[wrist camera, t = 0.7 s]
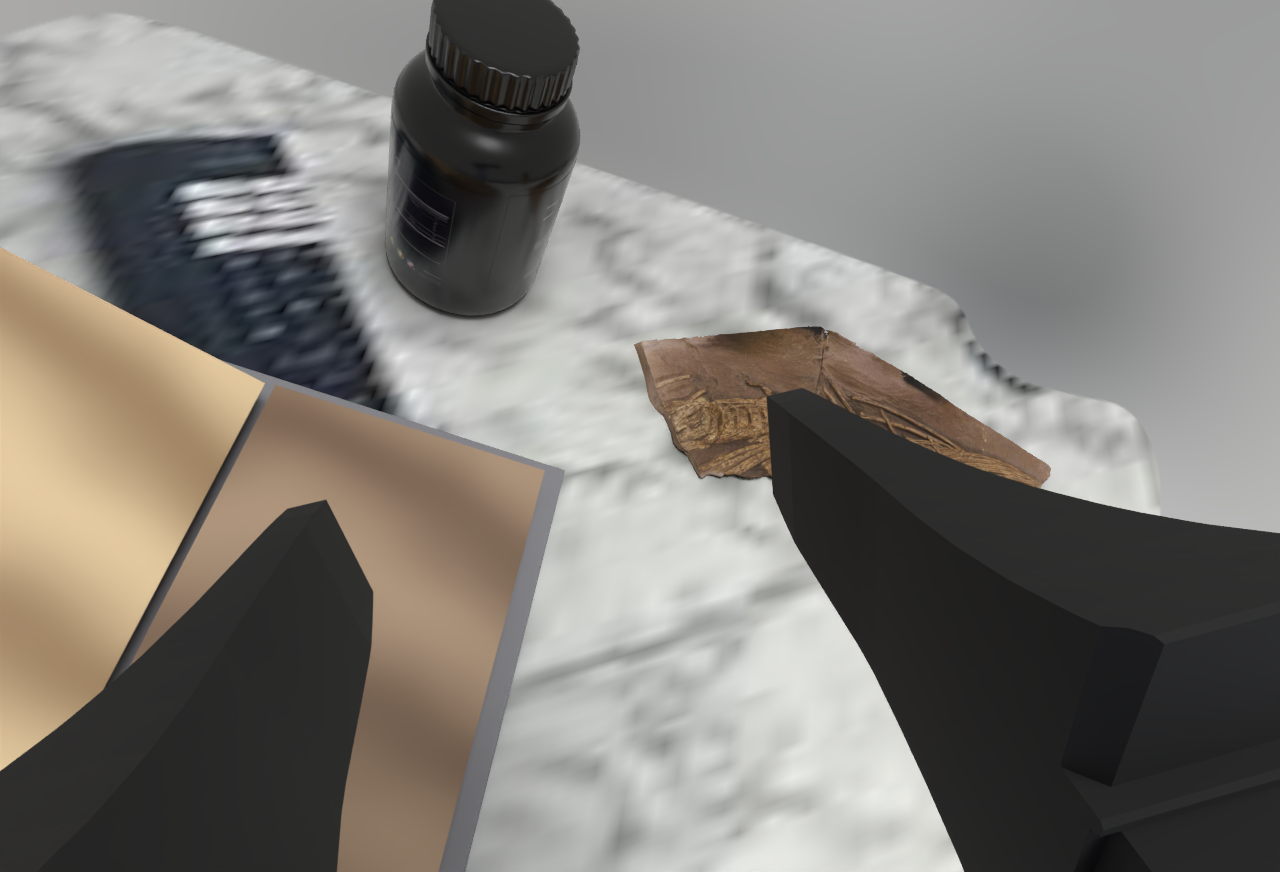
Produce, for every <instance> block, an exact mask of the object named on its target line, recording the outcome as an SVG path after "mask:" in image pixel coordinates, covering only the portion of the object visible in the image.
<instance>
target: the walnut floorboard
mask: <svg viewBox="0 0 1280 872" xmlns="http://www.w3.org/2000/svg"><path fill="white" fill-rule="evenodd" d="M544 472H545V470H542V469H539V468H536V467H532V466H529V465H526V464H523V463H520V462H517V461H514V460H510V459H507V458H504V457H501V456H498V455H495V454H492V453H488V452H485V451H482V450H479V449H476V448H473V447H469V446H466V445H463V444H460V443H457V442H454V441H451V440H447V439H444V438H441V437H438V436H435V435H432V434H429V433H425V432H422V431H419V430H416V429H413V428H410V427H407V426H403V425H400V424H397V423H394V422H391V421H388V420H385V419H381V418H378V417H375V416H372V415H369V414H366V413H363V412H359V411H356V410H353V409H350V408H347V407H344V406H341V405H337V404H334V403H331V402H328V401H325V400H322V399H319V398H315V397H312V396H309V395H306V394H303V393H300V392H297V391H293V390H290V389H287V388H284V387H281V386H278V385H275V387H274V389H273V391H272V392H271V394H270V396H269V398H268V400H267V402H266V404H265V406H264V408H263V410H262V412H261V414H260V416H259V418H258V419H257V421H256V423H255V425H254V427H253V429H252V431H251V433H250V435H249V437H248V439H247V441H246V443H245V445H244V446H243V448H242V450H241V452H240V454H239V456H238V458H237V460H236V462H235V464H234V466H233V468H232V470H231V472H230V473H229V475H228V477H227V479H226V481H225V483H224V485H223V487H222V489H221V491H220V493H219V495H218V497H217V499H216V500H215V502H214V504H213V506H212V508H211V510H210V512H209V514H208V516H207V518H206V520H205V522H204V524H203V525H202V527H201V529H200V531H199V533H198V535H197V537H196V539H195V541H194V543H193V545H192V547H191V549H190V551H189V552H188V554H187V556H186V558H185V560H184V562H183V564H182V566H181V568H180V570H179V572H178V574H177V576H176V578H175V579H174V581H173V583H172V585H171V587H170V589H169V591H168V593H167V595H166V597H165V599H164V601H163V603H162V605H161V606H160V608H159V610H158V612H157V614H156V616H155V618H154V620H153V622H152V624H151V626H150V628H149V630H148V632H147V633H146V635H145V637H144V639H143V641H142V643H141V645H140V647H139V649H138V651H137V653H136V655H135V657H134V659H133V660H132V662H131V664H130V666H131V665H132V664H133V663H134V662H135V661H136V660H137V659H138V658H140V657H141V656H142V655H143V654H144V653H145V652H146V651H147V650H148V649H149V648H150V647H151V646H152V645H153V644H154V643H155V642H156V641H157V640H158V639H159V638H160V637H161V636H162V635H163V634H164V633H165V632H166V631H167V630H168V629H169V628H170V627H171V626H172V625H173V624H174V623H176V622H177V621H178V620H179V619H180V618H181V617H182V616H183V615H184V614H185V613H186V612H187V611H188V610H189V609H190V608H191V607H192V606H193V605H194V604H195V603H196V602H197V601H198V600H199V599H200V598H201V597H202V596H203V595H204V594H205V592H206V591H207V590H208V589H209V588H210V587H211V586H212V585H213V584H214V583H215V582H216V581H217V580H218V579H219V578H220V577H221V576H222V575H223V574H224V573H225V571H226V570H227V569H228V568H229V567H230V566H231V565H232V564H233V563H234V562H235V561H236V560H237V559H238V558H239V557H240V556H241V555H242V553H243V552H244V551H245V550H246V549H247V548H248V547H249V546H250V545H251V544H252V543H253V542H254V541H255V540H256V539H257V538H258V537H259V536H260V535H261V533H262V532H263V531H264V530H265V529H266V528H267V527H268V526H269V525H270V524H271V523H272V522H273V521H274V520H275V519H276V518H277V517H279V516H280V515H281V514H282V513H283V512H284V511H285V510H286V509H288V508H292V507H296V506H301V505H305V504H309V503H313V502H318V501H322V500H327V502H328V504H329V506H330V508H331V510H332V512H333V514H334V516H335V518H336V520H337V521H338V523H339V525H340V527H341V529H342V531H343V533H344V535H345V537H346V539H347V541H348V543H349V545H350V547H351V549H352V551H353V553H354V555H355V557H356V559H357V561H358V563H359V565H360V567H361V568H362V570H363V572H364V574H365V576H366V578H367V580H368V582H369V584H370V586H371V588H372V590H373V627H372V645H371V653H370V659H369V665H368V670H367V676H366V681H365V687H364V692H363V698H362V703H361V708H360V713H359V718H358V723H357V729H356V734H355V739H354V744H353V749H352V755H351V760H350V765H349V770H348V775H347V780H346V787H345V794H344V801H343V807H342V815H341V828H340V840H339V852H338V864H337V872H438V871H439V868H440V864H441V860H442V856H443V853H444V849H445V845H446V841H447V837H448V834H449V830H450V826H451V822H452V819H453V815H454V811H455V807H456V804H457V800H458V796H459V792H460V788H461V785H462V781H463V777H464V773H465V770H466V766H467V762H468V758H469V755H470V751H471V747H472V743H473V739H474V736H475V732H476V728H477V724H478V721H479V717H480V713H481V709H482V706H483V702H484V698H485V694H486V690H487V687H488V683H489V679H490V675H491V672H492V668H493V664H494V660H495V657H496V653H497V649H498V645H499V641H500V638H501V634H502V630H503V626H504V623H505V619H506V615H507V611H508V608H509V604H510V600H511V596H512V592H513V589H514V585H515V581H516V577H517V574H518V570H519V566H520V562H521V559H522V555H523V551H524V547H525V543H526V540H527V536H528V532H529V528H530V525H531V521H532V517H533V513H534V510H535V506H536V502H537V498H538V494H539V491H540V487H541V483H542V479H543V476H544ZM130 666H129V667H130Z"/></svg>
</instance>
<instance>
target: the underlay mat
mask: <svg viewBox="0 0 1280 872" xmlns="http://www.w3.org/2000/svg"><path fill="white" fill-rule="evenodd" d="M223 362H224V361H223ZM225 363H227V364H228V365H230V366H232V367H234V368H236V369H238V370H240V371H242V372H244V373H246V374H248V375H250V376H252V377H254V378H256V379H258V380H260V381H262V382H264V383H265V384H264V386H263V388H262V390H261V392H260V394H259V396H258V398H257V399H256V401H255V403H254V405H253V407H252V409H251V411H250V413H249V415H248V416H247V418H246V420H245V422H244V424H243V426H242V428H241V430H240V432H239V434H238V435H237V437H236V439H235V441H234V443H233V445H232V447H231V449H230V451H229V452H228V454H227V456H226V458H225V460H224V462H223V464H222V466H221V468H220V469H219V471H218V473H217V475H216V477H215V479H214V481H213V483H212V485H211V486H210V488H209V490H208V492H207V494H206V496H205V498H204V500H203V502H202V504H201V505H200V507H199V509H198V511H197V513H196V515H195V517H194V519H193V521H192V522H191V524H190V526H189V528H188V530H187V532H186V534H185V536H184V538H183V539H182V541H181V543H180V545H179V547H178V549H177V551H176V553H175V555H174V556H173V558H172V560H171V562H170V564H169V566H168V568H167V570H166V572H165V574H164V575H163V577H162V579H161V581H160V583H159V585H158V587H157V589H156V591H155V592H154V594H153V596H152V598H151V600H150V602H149V604H148V606H147V608H146V609H145V611H144V613H143V615H142V617H141V619H140V621H139V623H138V625H137V627H136V628H135V630H134V632H133V634H132V636H131V638H130V640H129V642H128V644H127V645H126V647H125V649H124V651H123V653H122V655H121V657H120V659H119V661H118V662H117V664H116V666H115V668H114V670H113V672H112V674H111V676H110V678H109V679H108V681H107V683H106V685H105V687H104V689H105V688H106V687H107V686H108V685H109V684H111V683H112V682H113V681H114V680H115V679H116V678H117V677H119V676H120V675H121V674H122V673H123V672H124V671H125V670H126V669H128V668H129V666H130V664H131V662H132V660H133V659H134V657H135V655H136V653H137V651H138V649H139V647H140V645H141V643H142V641H143V639H144V637H145V635H146V633H147V632H148V630H149V628H150V626H151V624H152V622H153V620H154V618H155V616H156V614H157V612H158V610H159V608H160V606H161V605H162V603H163V601H164V599H165V597H166V595H167V593H168V591H169V589H170V587H171V585H172V583H173V581H174V579H175V578H176V576H177V574H178V572H179V570H180V568H181V566H182V564H183V562H184V560H185V558H186V556H187V554H188V552H189V551H190V549H191V547H192V545H193V543H194V541H195V539H196V537H197V535H198V533H199V531H200V529H201V527H202V525H203V524H204V522H205V520H206V518H207V516H208V514H209V512H210V510H211V508H212V506H213V504H214V502H215V500H216V499H217V497H218V495H219V493H220V491H221V489H222V487H223V485H224V483H225V481H226V479H227V477H228V475H229V473H230V472H231V470H232V468H233V466H234V464H235V462H236V460H237V458H238V456H239V454H240V452H241V450H242V448H243V446H244V445H245V443H246V441H247V439H248V437H249V435H250V433H251V431H252V429H253V427H254V425H255V423H256V421H257V419H258V418H259V416H260V414H261V412H262V410H263V408H264V406H265V404H266V402H267V400H268V398H269V396H270V394H271V392H272V391H273V389H274V387H275V385H278V386H281V387H284V388H287V389H290V390H293V391H297V392H300V393H303V394H306V395H309V396H312V397H315V398H319V399H322V400H325V401H328V402H331V403H334V404H337V405H341V406H344V407H347V408H350V409H353V410H356V411H359V412H363V413H366V414H369V415H372V416H375V417H378V418H381V419H385V420H388V421H391V422H394V423H397V424H400V425H403V426H407V427H410V428H413V429H416V430H419V431H422V432H425V433H429V434H432V435H435V436H438V437H441V438H444V439H447V440H451V441H454V442H457V443H460V444H463V445H466V446H469V447H473V448H476V449H479V450H482V451H485V452H488V453H492V454H495V455H498V456H501V457H504V458H507V459H510V460H514V461H517V462H520V463H523V464H526V465H529V466H532V467H536V468H539V469H542V470H545V472H544V476H543V479H542V483H541V487H540V491H539V494H538V498H537V502H536V506H535V510H534V513H533V517H532V521H531V525H530V528H529V532H528V536H527V540H526V543H525V547H524V551H523V555H522V559H521V562H520V566H519V570H518V574H517V577H516V581H515V585H514V589H513V592H512V596H511V600H510V604H509V608H508V611H507V615H506V619H505V623H504V626H503V630H502V634H501V638H500V641H499V645H498V649H497V653H496V657H495V660H494V664H493V668H492V672H491V675H490V679H489V683H488V687H487V690H486V694H485V698H484V702H483V706H482V709H481V713H480V717H479V721H478V724H477V728H476V732H475V736H474V739H473V743H472V747H471V751H470V755H469V758H468V762H467V766H466V770H465V773H464V777H463V781H462V785H461V788H460V792H459V796H458V800H457V804H456V807H455V811H454V815H453V819H452V822H451V826H450V830H449V834H448V837H447V841H446V845H445V849H444V853H443V856H442V860H441V864H440V868H439V871H438V872H465V869H466V865H467V861H468V857H469V853H470V849H471V845H472V841H473V837H474V833H475V829H476V825H477V820H478V816H479V812H480V808H481V804H482V800H483V796H484V792H485V788H486V784H487V780H488V776H489V772H490V768H491V764H492V760H493V756H494V752H495V748H496V744H497V740H498V736H499V732H500V728H501V724H502V720H503V716H504V712H505V708H506V704H507V700H508V696H509V692H510V688H511V684H512V680H513V676H514V672H515V668H516V664H517V660H518V656H519V652H520V648H521V644H522V640H523V636H524V632H525V628H526V624H527V620H528V616H529V612H530V608H531V604H532V600H533V596H534V592H535V588H536V584H537V580H538V576H539V572H540V568H541V564H542V560H543V556H544V552H545V548H546V544H547V540H548V536H549V532H550V528H551V524H552V520H553V516H554V512H555V508H556V504H557V500H558V496H559V492H560V487H561V483H562V479H563V475H564V471H565V470H562V469H559V468H555V467H552V466H549V465H546V464H543V463H540V462H537V461H534V460H530V459H527V458H524V457H521V456H518V455H515V454H512V453H509V452H505V451H502V450H499V449H496V448H493V447H490V446H487V445H484V444H480V443H477V442H474V441H471V440H468V439H465V438H462V437H459V436H455V435H452V434H449V433H446V432H443V431H440V430H437V429H434V428H430V427H427V426H424V425H421V424H418V423H415V422H412V421H409V420H406V419H402V418H399V417H396V416H393V415H390V414H387V413H384V412H381V411H377V410H374V409H371V408H368V407H365V406H362V405H359V404H356V403H352V402H349V401H346V400H343V399H340V398H337V397H334V396H331V395H327V394H324V393H321V392H318V391H315V390H312V389H309V388H306V387H302V386H299V385H296V384H293V383H290V382H287V381H284V380H281V379H277V378H274V377H271V376H268V375H265V374H262V373H259V372H256V371H252V370H249V369H246V368H243V367H240V366H237V365H234V364H231V363H228V362H225ZM104 689H103V690H104Z"/></svg>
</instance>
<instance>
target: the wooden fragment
mask: <svg viewBox="0 0 1280 872" xmlns="http://www.w3.org/2000/svg"><path fill="white" fill-rule="evenodd" d="M824 331H825V330H824V329H823V328H822V327H809V326H808V327H796V328H790V329H776V330H766V331H757V332H747V333H736V334H719V335H717V336H705V337H703V338H702V337H699V338H698V337H693V338H691V339H688V338H682V339H665V340H652V341H642V342H640V343H637V344H635V345H634V346H635V348H636V351H637V353H638V356H639V359H640V363H641V366H642V370H643V373H644V376H645V380H646V386H647V393H648V396H649V399H650V402H651V403H652V405H653V406H654V408H655V409H656V410H657V411H658V412H659V413H660V414H661V415H663V416H664V418H665V420H666V422H667V425H668V427H669V429H670V432H671V434H672V439H673V444H674V445H676V447H677V448H678V449H679V450H681V451H683V452H685V453H684V454H685V455H687V456H688V458H689V460H690V462H691V463H692V465H693V466H694V470H695V471H696V473H697V475H698V476H700V477H701V478H704V477H705V476H707V475H714V476H718V477H723V476H724V475H726V476H729V475H733V474H736V475H737V476H740V477H744V478H751V479H753V478H754V477H755V478H758V477H763V476H770V477H772V471H771V456H770V441H769V426H768V411H767V396H769V395H773V394H778V393H782V392H786V391H791V390H795V389H799V388H804V389H806V390H808V391H811V392H813V393H815V394H817V395H819V396H821V397H823V398H825V399H827V400H829V401H831V402H833V403H835V404H837V405H838V406H840V407H842V408H844V409H846V410H848V411H850V412H852V413H854V414H856V415H858V416H860V417H862V418H864V419H866V420H868V421H870V422H872V423H874V424H876V425H878V426H880V427H882V428H884V429H886V430H888V431H890V432H892V433H894V434H897V435H899V436H901V437H903V438H905V439H907V440H910V441H912V442H914V443H916V444H918V445H921V446H923V447H925V448H928V449H930V450H933V451H935V452H937V453H940V454H942V455H945V456H947V457H949V458H952V459H954V460H957V461H959V462H962V463H964V464H967V465H970V466H973V467H975V468H978V469H981V470H984V471H987V472H990V473H993V474H996V475H999V476H1002V477H1005V478H1008V479H1011V480H1014V481H1017V482H1020V483H1023V484H1026V485H1030V486H1033V487H1037V488H1040V487H1041V486H1042V484H1043V483H1044V482H1045V481H1046V480H1047V479H1048V478H1049V477H1050V470H1051V468H1050V467H1049V465H1047V464H1046V463H1044V462H1043V461H1041V460H1039V459H1037V458H1036V457H1035V456H1033V455H1031V454H1030V453H1028V452H1027V451H1025V450H1024V449H1022V448H1021V447H1019V446H1018V445H1016V444H1015V443H1014V442H1012V441H1010V440H1009V439H1007V438H1005V437H1003V436H1002V435H1001V434H999V433H997V432H996V431H994V430H993V429H991V428H990V427H988V426H986V425H984V424H983V423H981V422H979V421H978V420H976V419H975V418H973V417H971V416H970V415H968V414H967V413H966V412H964V411H962V410H961V409H959V408H958V407H956V406H954V405H953V404H952V403H950V402H949V401H948V400H946V399H945V398H944V397H942V396H941V395H940V394H938V393H936V392H935V391H933V390H932V389H930V388H928V387H927V386H925V385H924V384H922V383H920V382H919V381H918V380H916V379H914V378H913V377H912V376H910V375H908V374H907V373H904V372H903V371H901V370H899V369H898V368H896V367H894V366H893V365H891V364H889V363H887V362H885V361H884V360H881V359H880V358H878V357H876V356H875V355H874V354H872V353H870V352H868V351H864V350H863V349H860V348H859V347H858V346H855V345H856V343H854V342H852V341H850V340H848V339H846V338H844V337H842V336H841V335H839V334H838V333H836V332H832V331H828V330H826V331H828V333H827V334H828V335H827V339H823V336H824V334H826V333H824Z"/></svg>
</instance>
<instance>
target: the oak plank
mask: <svg viewBox="0 0 1280 872" xmlns="http://www.w3.org/2000/svg"><path fill="white" fill-rule="evenodd" d="M264 384H265V383H264V382H262V381H260V380H258V379H256V378H254V377H252V376H250V375H248V374H246V373H244V372H242V371H240V370H238V369H236V368H234V367H232V366H230V365H228V364H227V363H225V362H223V361H221V360H219V359H217V358H215V357H213V356H211V355H209V354H207V353H205V352H203V351H201V350H199V349H197V348H195V347H193V346H191V345H190V344H188V343H186V342H184V341H182V340H180V339H178V338H176V337H174V336H172V335H170V334H168V333H166V332H164V331H162V330H160V329H158V328H156V327H154V326H153V325H151V324H149V323H147V322H145V321H143V320H141V319H139V318H137V317H135V316H133V315H131V314H129V313H127V312H125V311H123V310H121V309H119V308H117V307H116V306H114V305H112V304H110V303H108V302H106V301H104V300H102V299H100V298H98V297H96V296H94V295H92V294H90V293H88V292H86V291H84V290H82V289H81V288H79V287H77V286H75V285H73V284H71V283H69V282H67V281H65V280H63V279H61V278H59V277H57V276H55V275H53V274H51V273H49V272H47V271H45V270H44V269H42V268H40V267H38V266H36V265H34V264H32V263H30V262H28V261H26V260H24V259H22V258H20V257H18V256H16V255H14V254H12V253H10V252H8V251H7V250H5V249H3V248H1V247H0V771H1V770H2V769H4V768H5V767H6V766H8V765H9V764H10V763H12V762H13V761H14V760H16V759H17V758H18V757H20V756H21V755H22V754H24V753H25V752H26V751H27V750H29V749H30V748H31V747H33V746H34V745H35V744H37V743H38V742H39V741H41V740H42V739H43V738H45V737H46V736H47V735H49V734H50V733H51V732H53V731H54V730H55V729H57V728H58V727H59V726H60V725H62V724H63V723H64V722H65V721H67V720H68V719H69V718H70V717H72V716H73V715H74V714H75V713H76V712H77V711H79V710H80V709H81V708H82V707H83V706H85V705H86V704H87V703H88V702H89V701H91V700H92V699H93V698H94V697H95V696H97V695H98V694H99V693H100V692H101V691H102V690H103V689H104V687H105V685H106V683H107V681H108V679H109V678H110V676H111V674H112V672H113V670H114V668H115V666H116V664H117V662H118V661H119V659H120V657H121V655H122V653H123V651H124V649H125V647H126V645H127V644H128V642H129V640H130V638H131V636H132V634H133V632H134V630H135V628H136V627H137V625H138V623H139V621H140V619H141V617H142V615H143V613H144V611H145V609H146V608H147V606H148V604H149V602H150V600H151V598H152V596H153V594H154V592H155V591H156V589H157V587H158V585H159V583H160V581H161V579H162V577H163V575H164V574H165V572H166V570H167V568H168V566H169V564H170V562H171V560H172V558H173V556H174V555H175V553H176V551H177V549H178V547H179V545H180V543H181V541H182V539H183V538H184V536H185V534H186V532H187V530H188V528H189V526H190V524H191V522H192V521H193V519H194V517H195V515H196V513H197V511H198V509H199V507H200V505H201V504H202V502H203V500H204V498H205V496H206V494H207V492H208V490H209V488H210V486H211V485H212V483H213V481H214V479H215V477H216V475H217V473H218V471H219V469H220V468H221V466H222V464H223V462H224V460H225V458H226V456H227V454H228V452H229V451H230V449H231V447H232V445H233V443H234V441H235V439H236V437H237V435H238V434H239V432H240V430H241V428H242V426H243V424H244V422H245V420H246V418H247V416H248V415H249V413H250V411H251V409H252V407H253V405H254V403H255V401H256V399H257V398H258V396H259V394H260V392H261V390H262V388H263V386H264Z"/></svg>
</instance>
